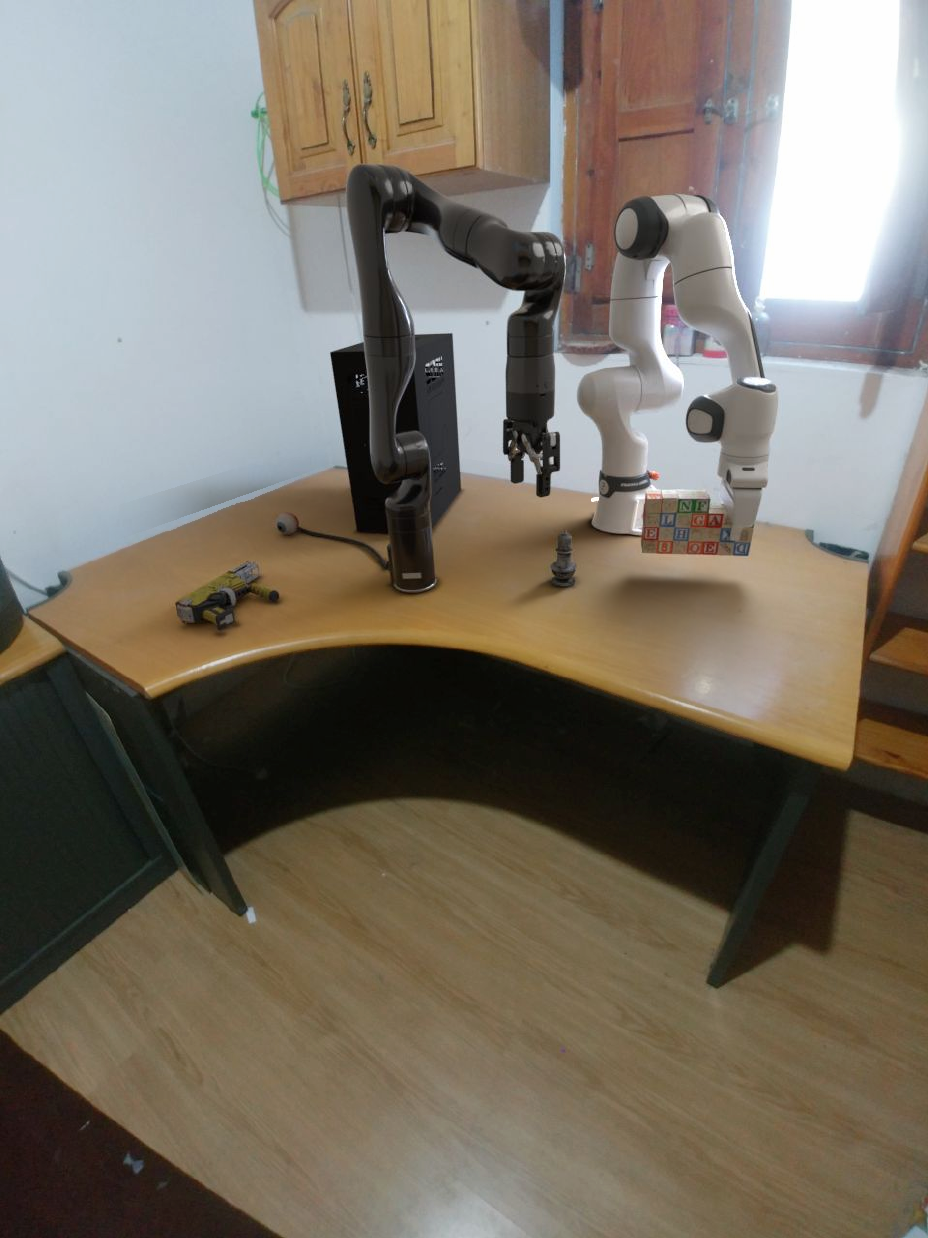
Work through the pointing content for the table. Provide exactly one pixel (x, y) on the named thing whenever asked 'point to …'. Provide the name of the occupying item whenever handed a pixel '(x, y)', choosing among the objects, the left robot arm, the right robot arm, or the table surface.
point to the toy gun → (222, 597)
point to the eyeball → (287, 523)
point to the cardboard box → (400, 426)
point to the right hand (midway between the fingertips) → (730, 532)
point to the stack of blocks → (689, 525)
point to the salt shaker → (563, 562)
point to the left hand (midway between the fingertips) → (529, 489)
